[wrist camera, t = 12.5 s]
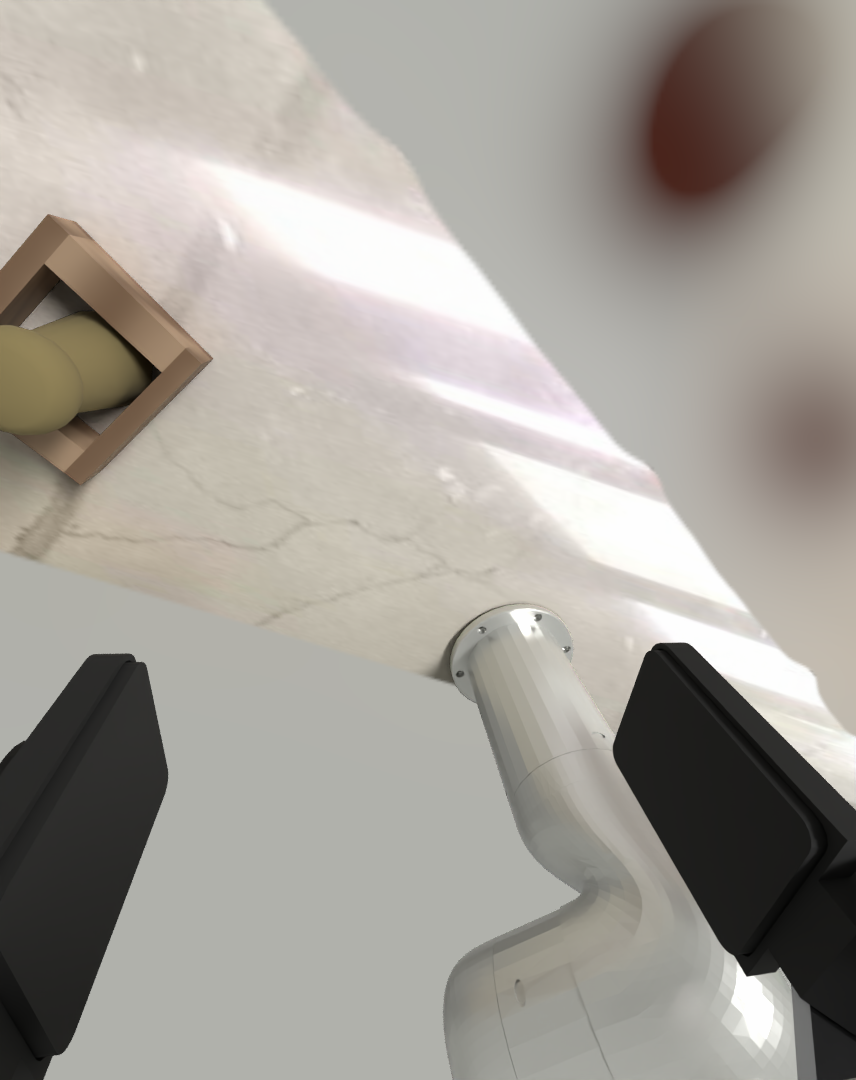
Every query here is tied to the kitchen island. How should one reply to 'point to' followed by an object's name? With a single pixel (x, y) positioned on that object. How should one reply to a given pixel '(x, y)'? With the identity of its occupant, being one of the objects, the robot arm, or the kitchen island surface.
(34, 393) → the tan rounded tapered piece
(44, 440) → the walnut holder
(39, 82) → the kitchen island surface
